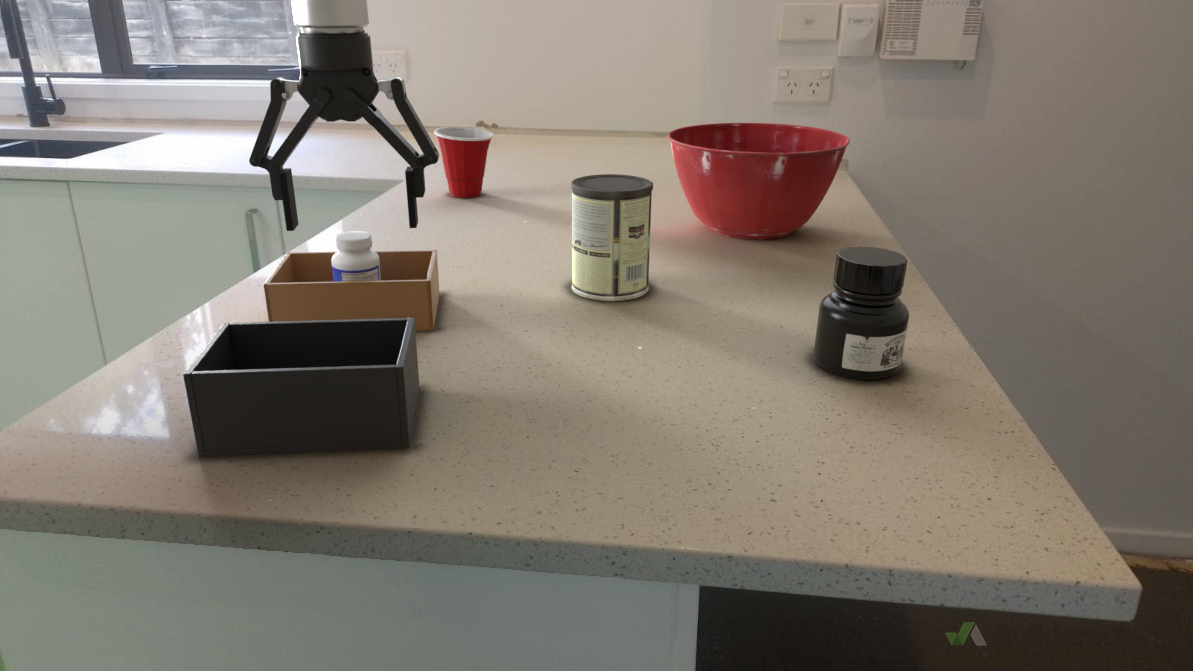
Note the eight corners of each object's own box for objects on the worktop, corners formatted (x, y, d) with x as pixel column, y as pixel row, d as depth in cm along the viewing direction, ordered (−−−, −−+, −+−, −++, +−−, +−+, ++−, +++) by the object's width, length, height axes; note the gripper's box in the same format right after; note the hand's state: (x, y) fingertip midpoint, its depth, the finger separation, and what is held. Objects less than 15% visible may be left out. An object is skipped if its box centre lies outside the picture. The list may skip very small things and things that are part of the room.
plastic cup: (482, 203, 152) (480, 136, 148) (427, 198, 155) (423, 133, 150) (503, 190, 162) (502, 127, 157) (452, 186, 165) (449, 124, 160)
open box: (198, 457, 70) (182, 374, 67) (236, 396, 80) (223, 322, 77) (409, 448, 71) (403, 367, 69) (419, 390, 82) (414, 317, 79)
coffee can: (590, 271, 117) (592, 170, 111) (660, 283, 113) (665, 178, 107) (556, 294, 108) (556, 185, 103) (630, 307, 104) (634, 194, 99)
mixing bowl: (692, 258, 124) (699, 152, 118) (644, 210, 149) (648, 122, 143) (869, 250, 129) (884, 148, 123) (793, 205, 155) (802, 120, 149)
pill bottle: (339, 306, 102) (331, 229, 99) (384, 304, 103) (378, 228, 100) (334, 323, 97) (325, 242, 94) (382, 320, 98) (375, 240, 95)
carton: (270, 335, 94) (263, 284, 92) (293, 298, 105) (287, 252, 103) (433, 330, 96) (430, 280, 94) (439, 295, 107) (436, 249, 105)
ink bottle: (856, 390, 83) (873, 275, 79) (792, 358, 90) (805, 251, 85) (920, 369, 88) (940, 260, 83) (855, 341, 95) (870, 238, 90)
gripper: (454, 28, 93) (464, 215, 101) (219, 27, 90) (249, 220, 98) (451, 32, 86) (462, 232, 94) (197, 31, 83) (231, 238, 92)
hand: (353, 226), depth 96 cm, fingers open, 13 cm apart
